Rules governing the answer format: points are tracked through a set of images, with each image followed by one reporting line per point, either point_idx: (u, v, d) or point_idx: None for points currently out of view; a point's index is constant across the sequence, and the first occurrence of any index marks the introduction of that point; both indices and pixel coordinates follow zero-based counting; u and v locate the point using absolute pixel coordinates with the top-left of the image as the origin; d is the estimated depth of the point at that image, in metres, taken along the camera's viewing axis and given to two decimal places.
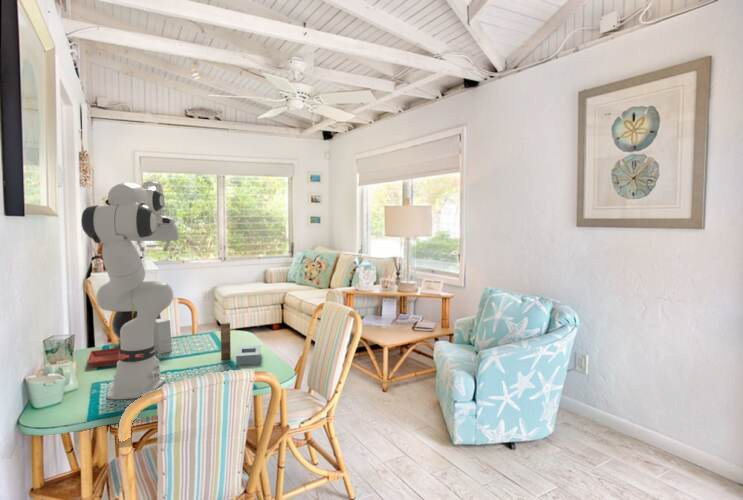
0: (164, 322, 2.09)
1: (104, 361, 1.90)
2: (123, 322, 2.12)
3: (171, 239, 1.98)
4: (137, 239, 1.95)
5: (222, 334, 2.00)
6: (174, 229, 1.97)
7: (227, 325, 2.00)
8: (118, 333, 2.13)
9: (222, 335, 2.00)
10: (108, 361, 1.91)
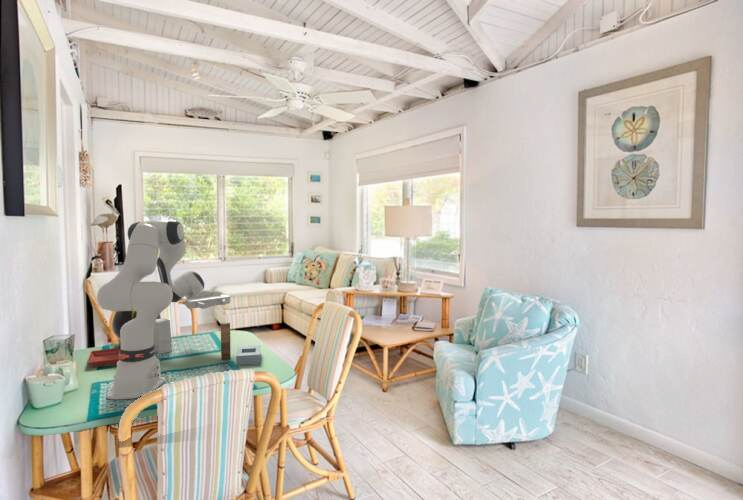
0: (164, 322, 2.09)
1: (104, 361, 1.90)
2: (123, 322, 2.12)
3: (225, 296, 2.19)
4: (197, 300, 2.10)
5: (222, 334, 2.00)
6: None
7: (227, 325, 2.00)
8: (118, 333, 2.13)
9: (222, 335, 2.00)
10: (108, 361, 1.91)
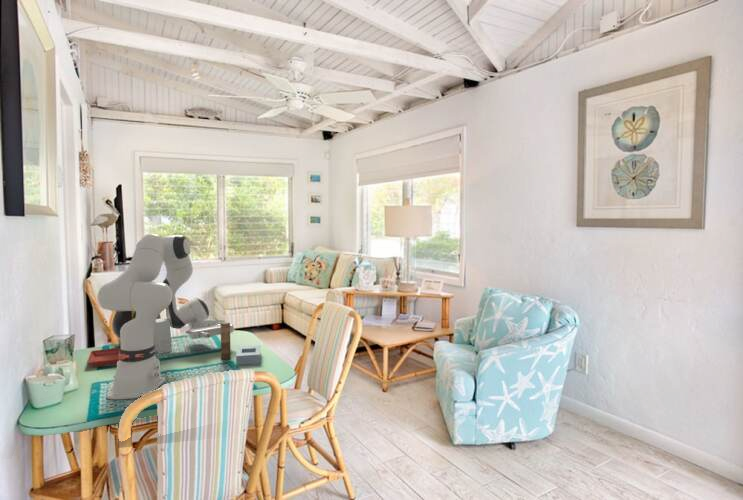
0: (164, 322, 2.09)
1: (104, 361, 1.90)
2: (123, 322, 2.12)
3: None
4: (200, 330, 2.08)
5: (222, 334, 2.00)
6: (228, 322, 2.21)
7: (227, 325, 2.00)
8: (118, 333, 2.13)
9: (222, 335, 2.00)
10: (108, 361, 1.91)
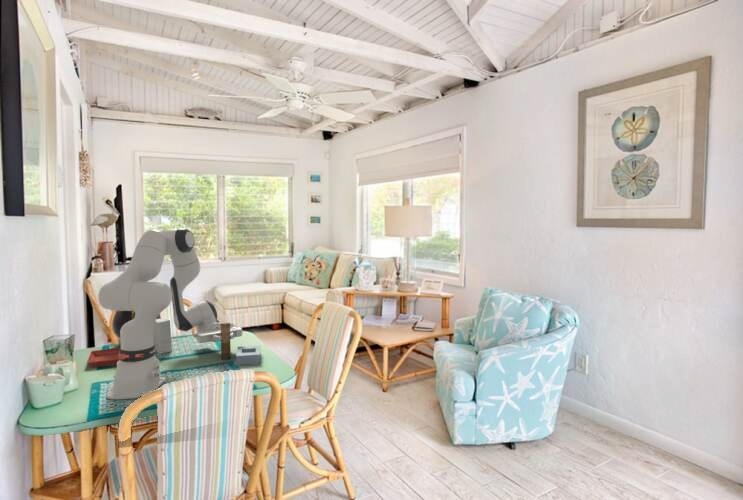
0: (164, 322, 2.09)
1: (104, 361, 1.90)
2: (123, 322, 2.12)
3: (237, 329, 2.10)
4: (208, 334, 2.01)
5: (222, 334, 2.00)
6: None
7: (227, 325, 2.00)
8: (118, 333, 2.13)
9: (222, 335, 2.00)
10: (108, 361, 1.91)
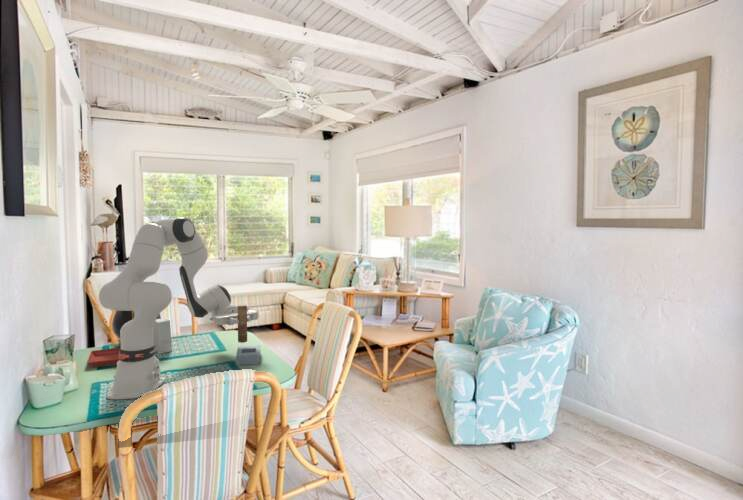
0: (164, 322, 2.09)
1: (104, 361, 1.90)
2: (123, 322, 2.12)
3: (253, 312, 2.09)
4: (225, 316, 2.00)
5: (239, 316, 1.99)
6: (252, 309, 2.13)
7: (244, 307, 1.99)
8: (118, 333, 2.13)
9: (239, 317, 1.99)
10: (108, 361, 1.91)
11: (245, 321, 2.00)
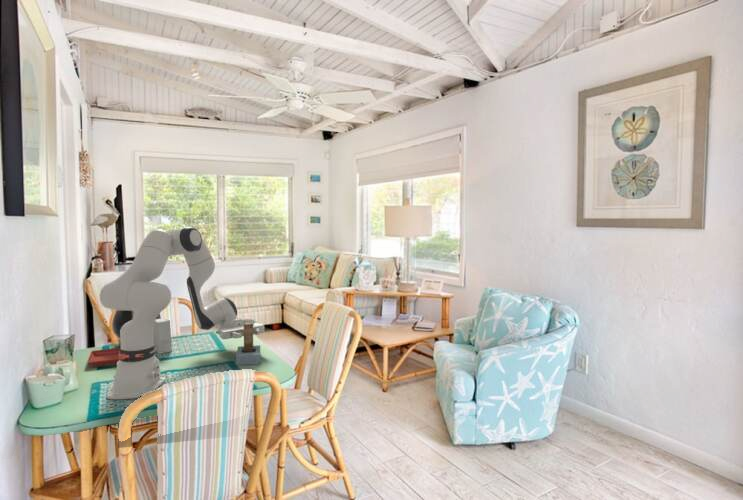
0: (164, 322, 2.09)
1: (104, 361, 1.90)
2: (123, 322, 2.12)
3: (259, 325, 2.09)
4: (231, 330, 2.00)
5: (245, 335, 1.99)
6: (258, 322, 2.13)
7: (250, 326, 1.99)
8: (118, 333, 2.13)
9: (245, 336, 1.99)
10: (108, 361, 1.91)
11: (251, 339, 2.00)
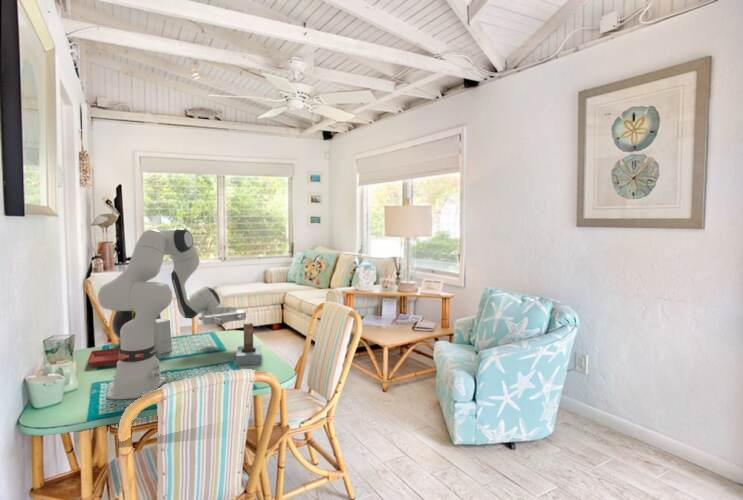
0: (164, 322, 2.09)
1: (104, 361, 1.90)
2: (123, 322, 2.12)
3: (241, 312, 2.18)
4: (213, 316, 2.09)
5: (245, 335, 1.99)
6: None
7: (250, 326, 1.99)
8: (118, 333, 2.13)
9: (245, 336, 1.99)
10: (108, 361, 1.91)
11: (251, 339, 2.00)
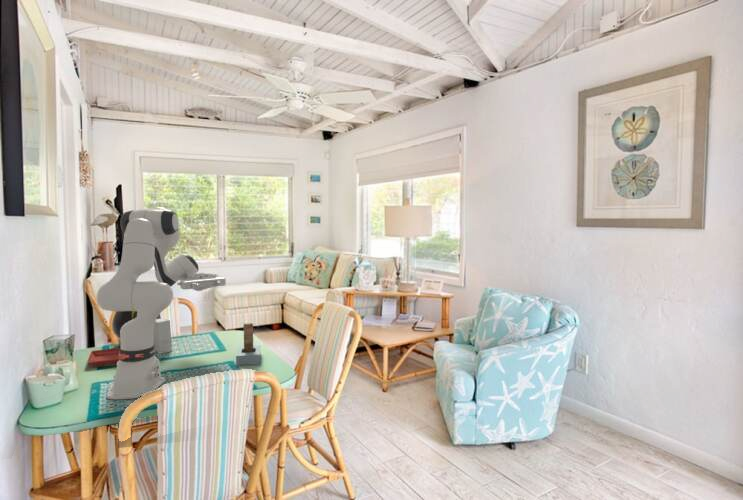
0: (164, 322, 2.09)
1: (104, 361, 1.90)
2: (123, 322, 2.12)
3: (220, 278, 2.16)
4: (191, 281, 2.07)
5: (245, 335, 1.99)
6: (220, 276, 2.20)
7: (250, 326, 1.99)
8: (118, 333, 2.13)
9: (245, 336, 1.99)
10: (108, 361, 1.91)
11: (251, 339, 2.00)
